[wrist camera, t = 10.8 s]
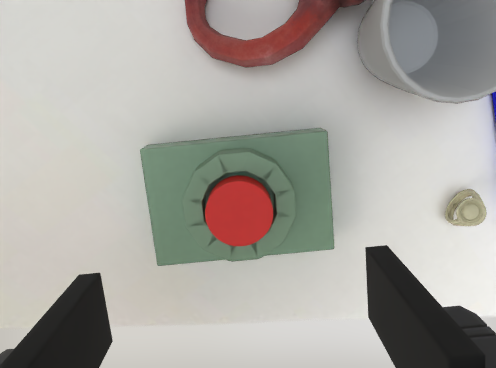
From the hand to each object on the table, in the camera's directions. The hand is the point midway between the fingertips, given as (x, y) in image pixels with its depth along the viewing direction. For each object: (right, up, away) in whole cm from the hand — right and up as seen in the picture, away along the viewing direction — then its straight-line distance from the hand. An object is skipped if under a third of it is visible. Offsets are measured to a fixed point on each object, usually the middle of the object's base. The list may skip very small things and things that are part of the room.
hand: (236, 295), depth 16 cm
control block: (0, +3, +15) cm, 16 cm away
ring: (+15, +3, +16) cm, 22 cm away
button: (0, +3, +12) cm, 12 cm away
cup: (+11, +14, +13) cm, 22 cm away
